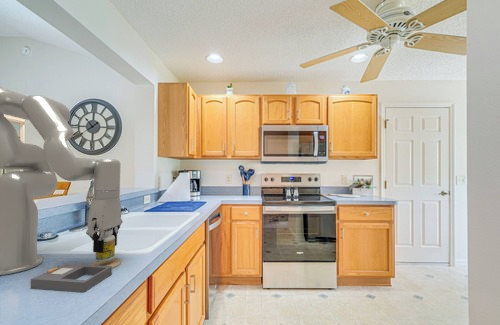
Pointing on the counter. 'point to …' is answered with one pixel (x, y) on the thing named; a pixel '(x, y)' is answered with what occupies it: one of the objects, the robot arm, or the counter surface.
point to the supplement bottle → (107, 246)
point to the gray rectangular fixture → (71, 277)
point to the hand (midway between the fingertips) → (105, 248)
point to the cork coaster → (108, 263)
